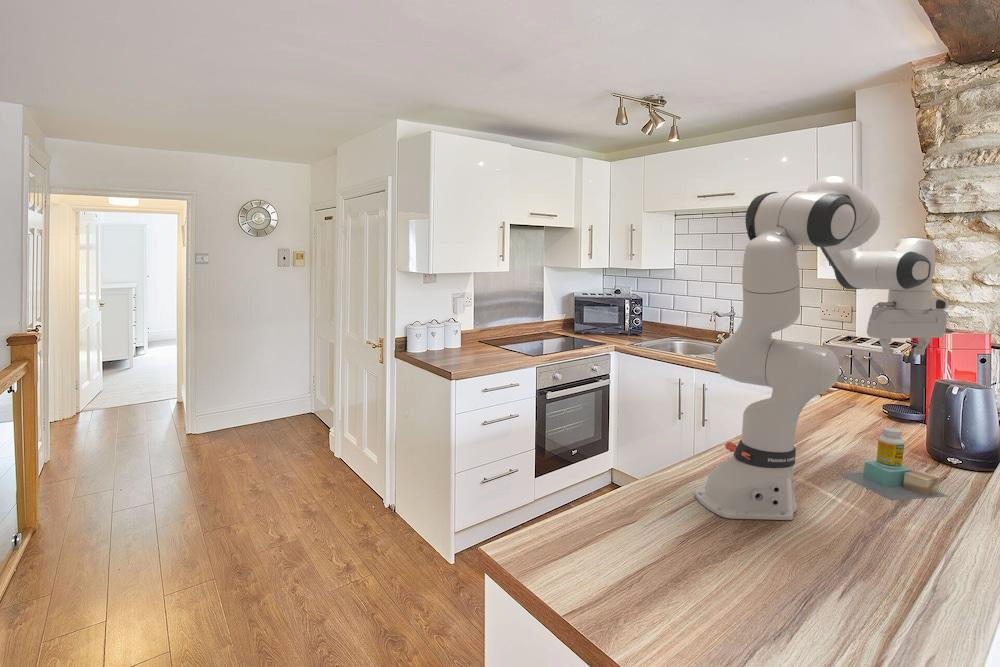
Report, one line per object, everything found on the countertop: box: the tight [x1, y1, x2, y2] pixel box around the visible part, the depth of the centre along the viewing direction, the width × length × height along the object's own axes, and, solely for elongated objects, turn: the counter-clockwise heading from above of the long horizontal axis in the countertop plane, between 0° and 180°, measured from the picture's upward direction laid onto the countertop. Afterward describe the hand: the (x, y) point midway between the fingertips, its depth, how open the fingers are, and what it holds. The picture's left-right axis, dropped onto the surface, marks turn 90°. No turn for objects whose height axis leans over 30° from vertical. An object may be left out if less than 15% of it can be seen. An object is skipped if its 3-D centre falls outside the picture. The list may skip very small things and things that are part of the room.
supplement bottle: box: [875, 426, 905, 469], centre depth 133 cm, size 5×5×10 cm
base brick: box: [863, 460, 914, 487], centre depth 134 cm, size 7×7×4 cm
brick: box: [903, 469, 941, 496], centre depth 128 cm, size 5×5×4 cm
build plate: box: [838, 471, 949, 502], centre depth 132 cm, size 16×16×1 cm
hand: (903, 354), depth 136 cm, fingers open, 8 cm apart
